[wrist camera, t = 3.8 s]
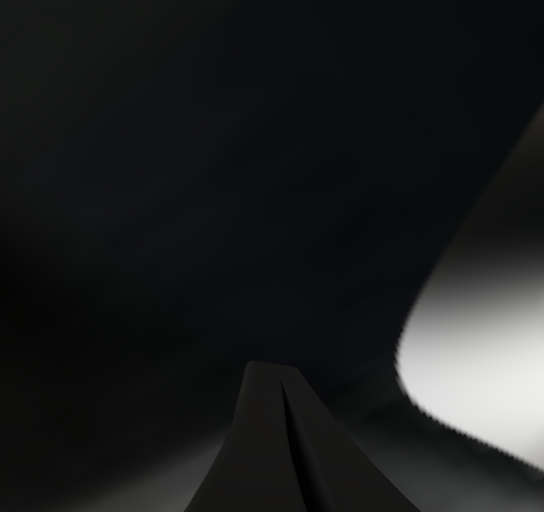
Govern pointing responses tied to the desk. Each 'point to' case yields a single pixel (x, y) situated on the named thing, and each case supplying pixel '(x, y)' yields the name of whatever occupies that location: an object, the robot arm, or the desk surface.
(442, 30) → the desk surface
